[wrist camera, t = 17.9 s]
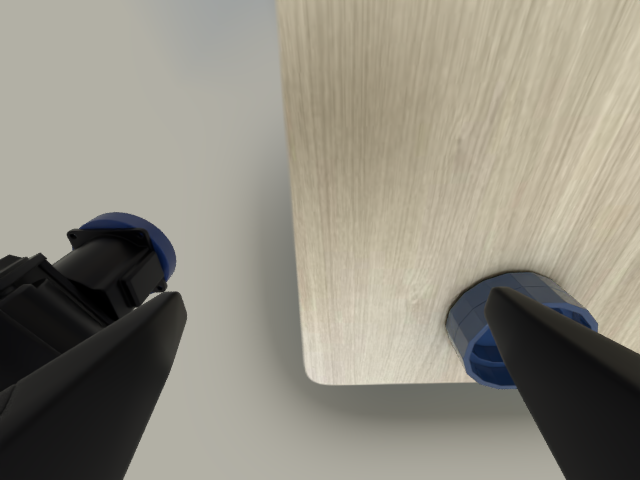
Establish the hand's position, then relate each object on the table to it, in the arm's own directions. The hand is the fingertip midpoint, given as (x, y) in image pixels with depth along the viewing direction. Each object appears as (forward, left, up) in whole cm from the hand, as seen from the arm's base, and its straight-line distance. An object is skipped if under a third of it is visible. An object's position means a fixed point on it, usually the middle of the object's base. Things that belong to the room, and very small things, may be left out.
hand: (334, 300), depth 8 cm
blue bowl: (+16, -13, -13) cm, 25 cm away
